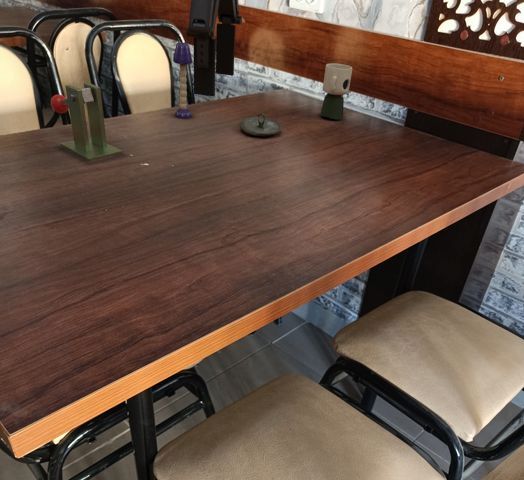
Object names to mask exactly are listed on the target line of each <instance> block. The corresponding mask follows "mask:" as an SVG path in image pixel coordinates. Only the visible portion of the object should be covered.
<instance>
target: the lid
mask: <svg viewBox="0 0 524 480" xmlns="http://www.w3.org/2000/svg"><path fill="white" fill-rule="evenodd" d="M238 126H239V128H240V129H241V130H242V131H243V132H244V133H246V134H248V135H250V136H255V137H269V136H274V135H276V134H278V133H280V132H281V130H282V129H283V125H282V124H281V123H280V121H278V120H276V119H273V118H271V117H266V115H265V113H262V112H260V113H258V115H257V116H251V117H246V118H244V119H242V120H240V121H239V125H238Z"/></svg>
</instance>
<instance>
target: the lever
mask: <svg viewBox="0 0 524 480" xmlns="http://www.w3.org/2000/svg"><path fill="white" fill-rule="evenodd" d="M80 89H81V90H82V94H83V101H84V105H86V103H89V102H93V101H94V99H93V95H92V92H91V88H84V87H83V88H80ZM50 106H51V108H52V110H53V111H54V112H56V113H58V114H65V113H67V112H68V111H69V106H68V99H67V97H66V96H64V95H63V94H54V95H53V96H52V97H51V99H50Z"/></svg>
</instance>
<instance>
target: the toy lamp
mask: <svg viewBox="0 0 524 480" xmlns="http://www.w3.org/2000/svg"><path fill="white" fill-rule="evenodd" d="M172 62H173V63H175V64H177V65H179V83H180V84H179V108H178V109H177V110H176V111H175V116H174V117H175V118H177V119H183V120H187V119H191V118H192V116H193V115H192V112H191V111H190V110H189V109H187V100H188V99H187V94H188V92H187V89H188V87H187V86H188V85H187V81H188V79H187V78H188V77H187V73H188V72H187V65H191V64H193V58H192V52H191V47H190V44H189V43H187V42H180V41H179V42H177V43H176V44H175V48H174V53H173V58H172Z"/></svg>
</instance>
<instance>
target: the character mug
mask: <svg viewBox="0 0 524 480" xmlns="http://www.w3.org/2000/svg"><path fill="white" fill-rule="evenodd" d="M352 75H353V67H352V66H351V65H348V64H343V63H333V62H332V63H326V64H325V70H324V75H323V76H324V77H323V84H322V91H323V92H324V93H326V94H325V95H324V97H323V102H322V105H321V109H320V110H321V111H320V114H319V115H320V116H321V117H325V118H328V120H341V119H343V117H344V104H345V103H344V102H345V99H344V95H348V94H349V91H350V87H351V80H352Z"/></svg>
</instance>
